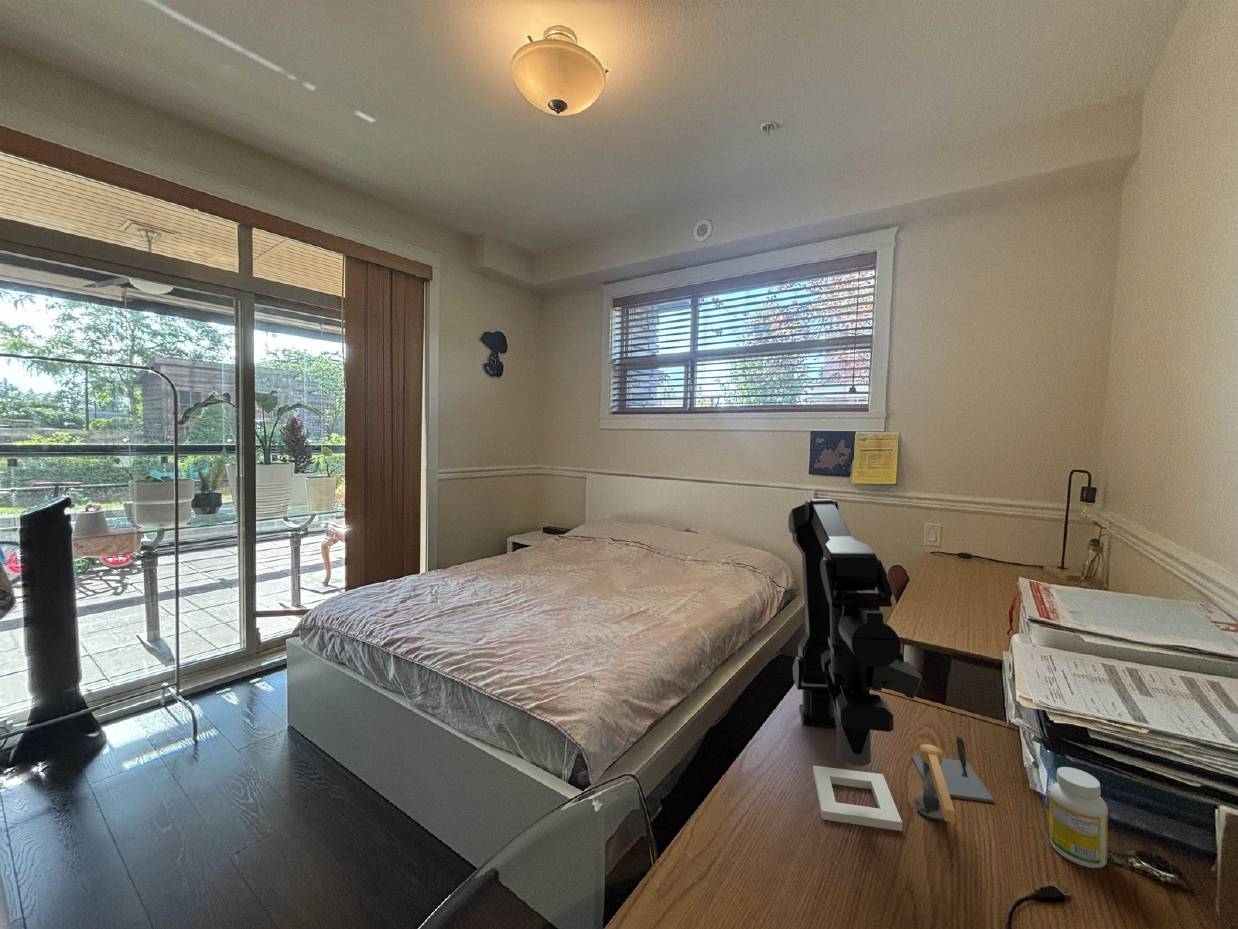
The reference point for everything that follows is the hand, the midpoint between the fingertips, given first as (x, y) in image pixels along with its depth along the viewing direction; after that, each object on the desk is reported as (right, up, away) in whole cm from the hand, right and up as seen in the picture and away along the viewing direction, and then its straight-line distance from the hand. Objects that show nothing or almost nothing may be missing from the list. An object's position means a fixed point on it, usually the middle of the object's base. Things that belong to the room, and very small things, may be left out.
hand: (853, 743), depth 72 cm
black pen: (+22, -8, +8) cm, 25 cm away
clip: (+7, -1, -7) cm, 11 cm away
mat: (+17, -8, +4) cm, 19 cm away
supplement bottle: (+23, -8, -10) cm, 27 cm away
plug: (0, -2, 0) cm, 2 cm away
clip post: (+10, -8, -2) cm, 13 cm away
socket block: (0, -8, 0) cm, 8 cm away
